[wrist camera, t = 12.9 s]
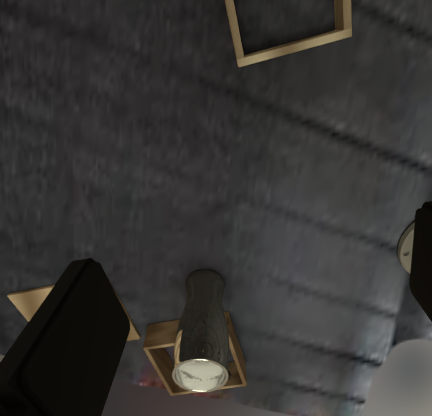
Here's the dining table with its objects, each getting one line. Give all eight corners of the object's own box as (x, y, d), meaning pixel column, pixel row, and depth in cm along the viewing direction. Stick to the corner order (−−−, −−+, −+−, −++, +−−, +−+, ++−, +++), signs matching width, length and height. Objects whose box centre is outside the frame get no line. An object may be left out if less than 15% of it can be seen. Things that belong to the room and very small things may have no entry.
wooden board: (105, 274, 48) (104, 277, 48) (140, 336, 55) (140, 338, 55) (9, 293, 50) (7, 295, 50) (55, 350, 58) (53, 352, 57)
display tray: (228, 311, 52) (228, 334, 48) (245, 361, 59) (246, 385, 55) (148, 324, 54) (142, 347, 50) (174, 372, 61) (170, 395, 57)
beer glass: (189, 302, 51) (178, 396, 38) (178, 270, 47) (162, 362, 35) (231, 296, 50) (235, 390, 37) (222, 263, 47) (224, 355, 34)
